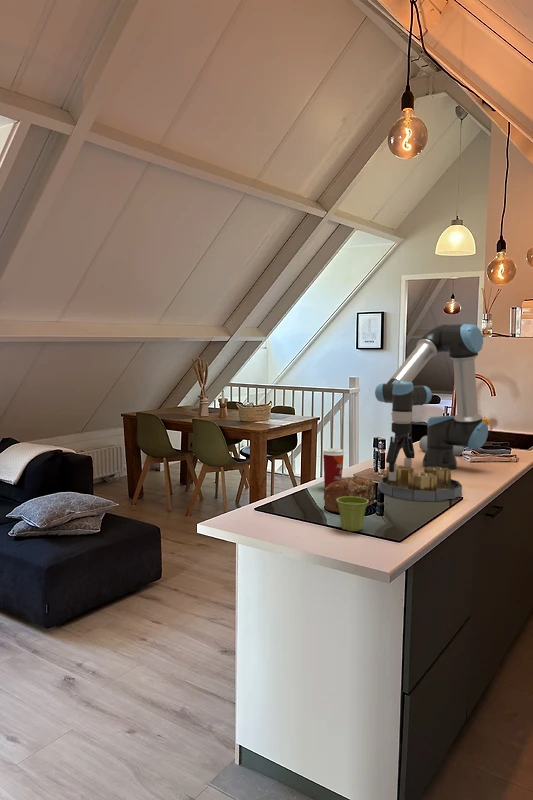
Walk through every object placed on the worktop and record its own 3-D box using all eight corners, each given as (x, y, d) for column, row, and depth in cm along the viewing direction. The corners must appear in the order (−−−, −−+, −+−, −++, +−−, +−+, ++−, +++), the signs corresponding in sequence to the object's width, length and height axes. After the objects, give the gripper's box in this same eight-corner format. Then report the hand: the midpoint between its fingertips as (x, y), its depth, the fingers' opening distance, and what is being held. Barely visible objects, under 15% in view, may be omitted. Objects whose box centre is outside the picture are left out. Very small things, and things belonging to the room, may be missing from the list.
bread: (350, 516, 196) (350, 485, 195) (321, 510, 202) (322, 480, 201) (376, 504, 211) (377, 475, 210) (349, 499, 217) (350, 471, 216)
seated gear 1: (415, 486, 229) (415, 470, 228) (439, 490, 223) (440, 474, 222) (404, 491, 221) (404, 475, 221) (429, 495, 215) (430, 478, 215)
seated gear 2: (430, 480, 240) (430, 465, 239) (453, 484, 234) (454, 468, 233) (419, 484, 232) (420, 469, 232) (444, 488, 226) (445, 472, 226)
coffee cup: (342, 492, 227) (343, 452, 226) (320, 490, 229) (321, 451, 228) (344, 487, 235) (345, 448, 234) (323, 485, 237) (323, 447, 236)
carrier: (400, 479, 251) (400, 461, 250) (471, 490, 233) (472, 470, 232) (365, 492, 227) (366, 472, 227) (442, 505, 210) (443, 484, 209)
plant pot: (333, 524, 186) (333, 496, 185) (363, 523, 187) (364, 495, 186) (339, 533, 177) (339, 504, 176) (371, 533, 178) (372, 503, 177)
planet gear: (416, 482, 236) (417, 467, 235) (406, 487, 228) (406, 471, 228) (393, 479, 241) (394, 464, 241) (382, 483, 234) (383, 467, 233)
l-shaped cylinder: (422, 454, 304) (464, 455, 302) (422, 433, 306) (464, 434, 303) (418, 456, 322) (457, 457, 319) (418, 435, 323) (457, 437, 321)
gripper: (406, 418, 245) (404, 471, 247) (377, 424, 225) (376, 481, 227) (424, 420, 240) (422, 473, 242) (396, 426, 221) (394, 484, 222)
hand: (400, 477), depth 235 cm, fingers open, 13 cm apart
